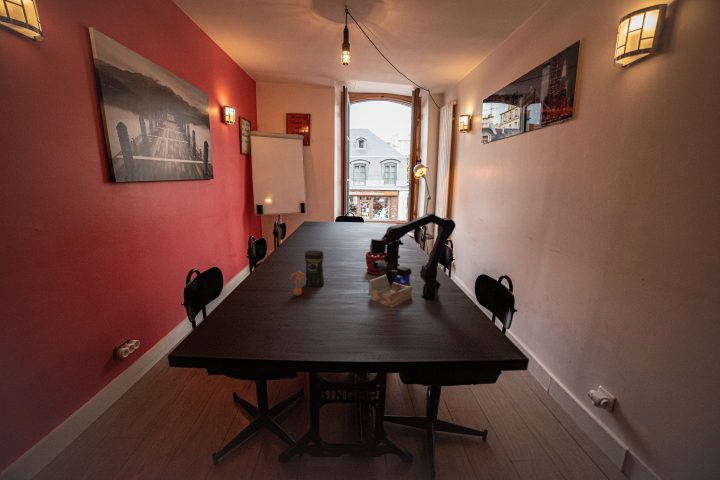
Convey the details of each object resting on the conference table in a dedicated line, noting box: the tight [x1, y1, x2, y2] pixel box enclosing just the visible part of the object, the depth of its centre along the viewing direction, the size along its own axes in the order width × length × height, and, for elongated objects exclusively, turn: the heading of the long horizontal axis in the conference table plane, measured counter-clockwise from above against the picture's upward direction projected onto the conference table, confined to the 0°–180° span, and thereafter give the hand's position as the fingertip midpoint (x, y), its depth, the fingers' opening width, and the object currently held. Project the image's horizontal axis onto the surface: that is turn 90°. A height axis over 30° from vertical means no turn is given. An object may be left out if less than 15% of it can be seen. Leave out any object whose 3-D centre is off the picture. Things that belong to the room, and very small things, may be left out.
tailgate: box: [367, 274, 390, 297], centre depth 145 cm, size 2×16×8 cm, turn 137°
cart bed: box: [370, 282, 413, 308], centre depth 141 cm, size 12×16×6 cm
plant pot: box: [365, 250, 386, 275], centre depth 177 cm, size 13×13×12 cm
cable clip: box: [394, 275, 411, 286], centre depth 160 cm, size 12×4×6 cm, turn 143°
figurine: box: [289, 270, 307, 297], centre depth 142 cm, size 8×6×12 cm
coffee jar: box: [304, 249, 325, 288], centre depth 155 cm, size 10×8×19 cm
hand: (390, 285), depth 141 cm, fingers closed
